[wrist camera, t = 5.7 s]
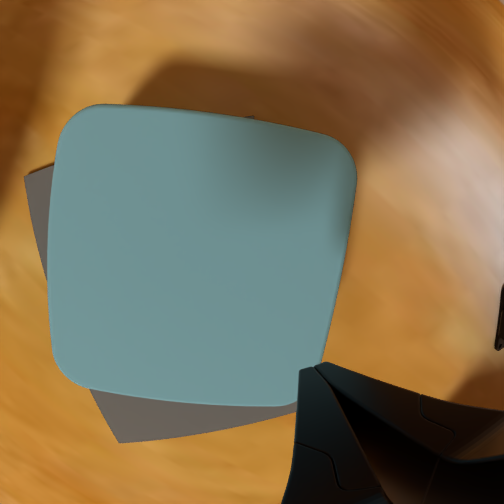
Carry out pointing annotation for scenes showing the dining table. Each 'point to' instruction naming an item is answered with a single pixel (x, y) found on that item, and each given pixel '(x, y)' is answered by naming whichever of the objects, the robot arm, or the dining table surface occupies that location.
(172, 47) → the dining table surface
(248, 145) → the data package
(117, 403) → the mat
